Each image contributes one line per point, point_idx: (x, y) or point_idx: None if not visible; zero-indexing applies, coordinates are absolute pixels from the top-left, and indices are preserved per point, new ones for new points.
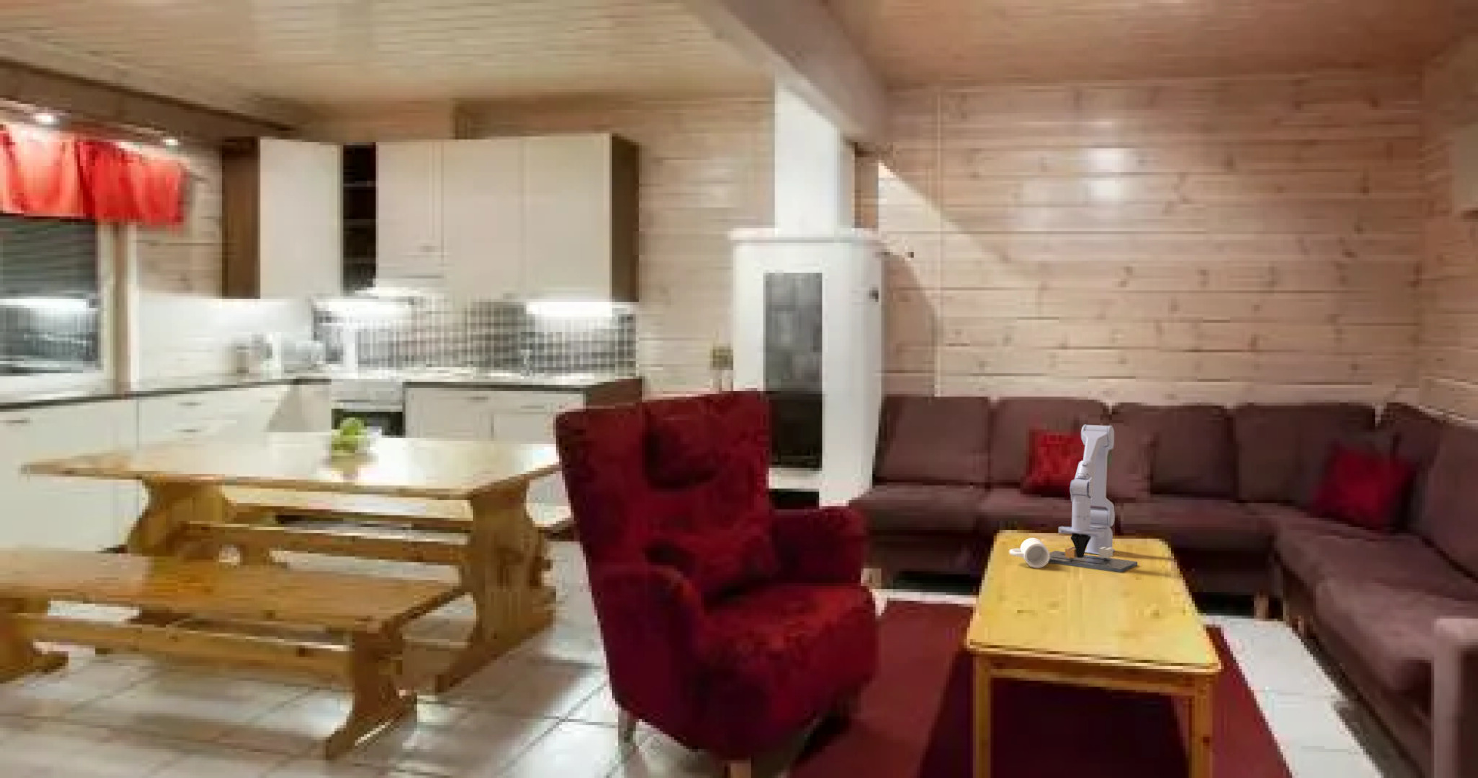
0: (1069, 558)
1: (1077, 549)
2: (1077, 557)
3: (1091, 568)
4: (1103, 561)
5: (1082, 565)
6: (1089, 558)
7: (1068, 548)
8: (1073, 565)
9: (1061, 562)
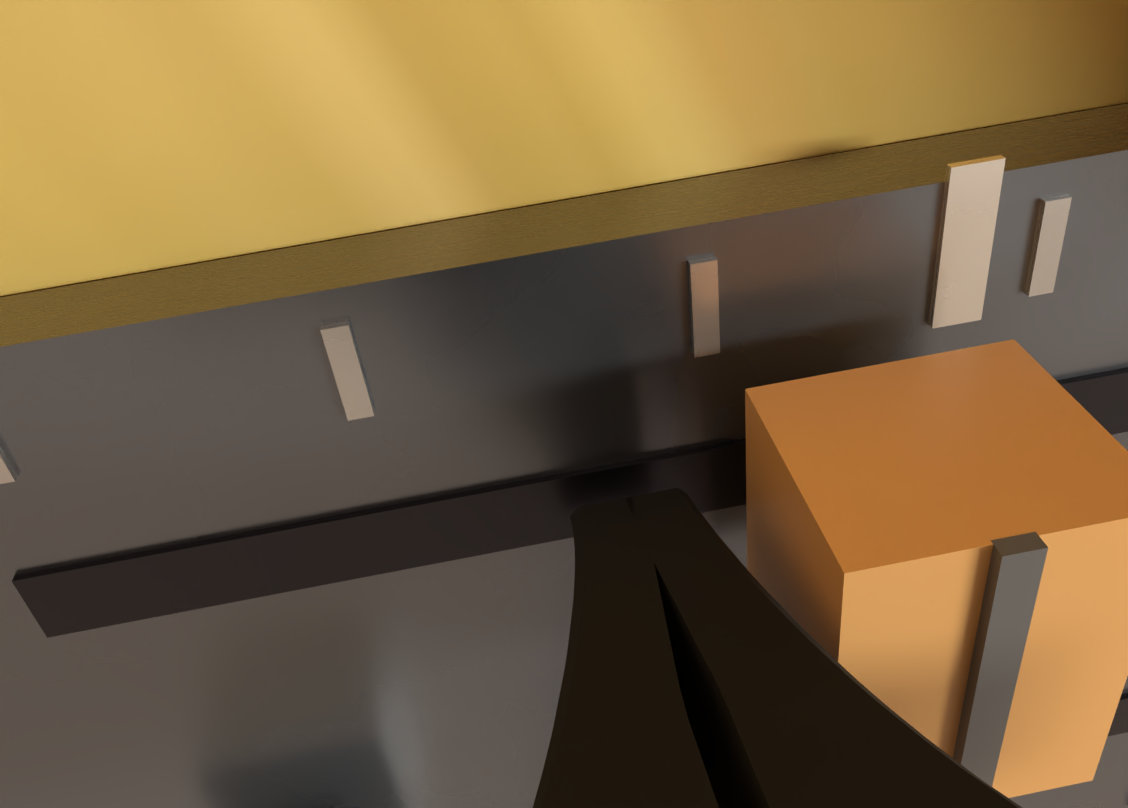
0: None
1: (738, 648)
2: None
3: (122, 281)
4: (227, 774)
5: (383, 253)
6: None
7: (1083, 598)
8: (647, 196)
9: (1008, 146)
